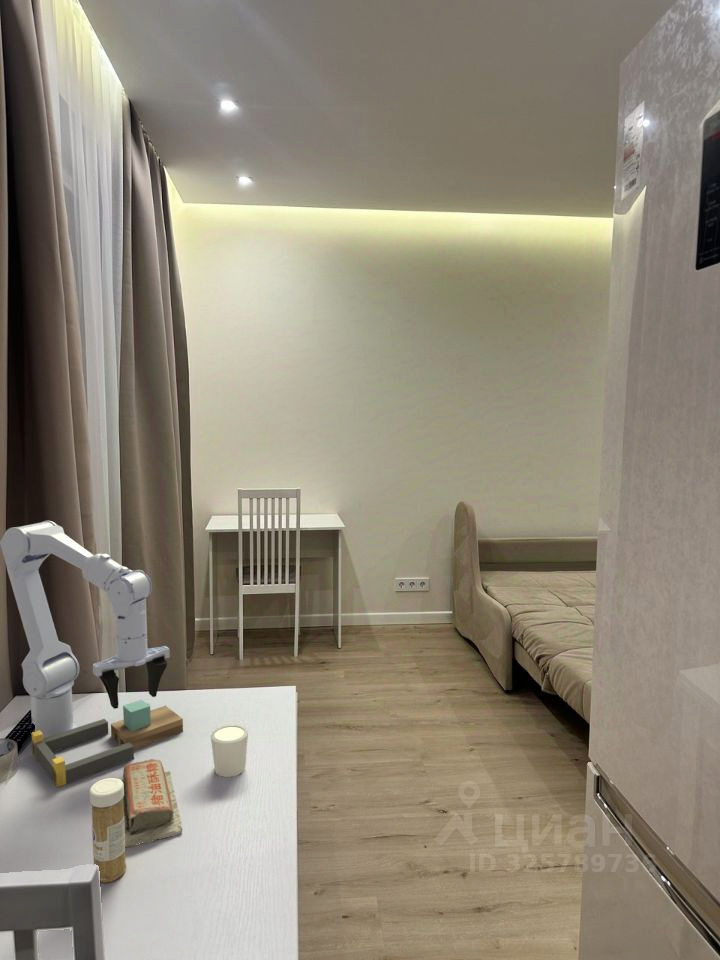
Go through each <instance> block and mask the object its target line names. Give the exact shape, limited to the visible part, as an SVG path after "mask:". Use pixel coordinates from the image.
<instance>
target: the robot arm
mask: <svg viewBox="0 0 720 960" xmlns="http://www.w3.org/2000/svg"><path fill="white" fill-rule="evenodd" d="M0 549H1V552H2V555H3V558H4V562H5V565H6V570H7V574H8V578H9V580H10V584H11V588H12V591H13V595H14V598H15V601H16V605H17V609H18V612H19V616H20V619H21V622H22V626H23V630H24V632H25V636H26V639H27V643H28V647H29V652H28V654H27V655H26V656H25V658H24V659H23V661H22V663H21V668H22V684H23V687H24V689H25V691H26V692H27V693H28V694H29V697H30V712H31V713H30V714H31V724H32V723H33V724H34V725H35V731H38V730H40V731H41V732H42V733H43V738H46V737H49V736H52V735H55V734H58V733H61V732H64V731H68V730H71V729H74V728H77V727H79V725H78V724H77V723H75V722H74V710H73V690H72V687H73V686H74V685H75V680H76V679H77V678H78V677H79V674H80V663H79V661H78V659H77V658H76V656H75V655H74V653H73V652H72V648H71V646H70V645H69V644H67V643H65V642H62V641H59V638H58V634H57V630H56V628H55V623H54V621H53V617H52V613H51V611H50V607H49V602H48V599H47V595H46V592H45V590H44V589H45V588H44V586H43V583H42V579H41V575H40V573H39V572H40V571H39V569H40V567H41V565H42V564H43V562H44V561H45V560H46V559H47V558H48V557H49V556H50V555H51V554H52V555H54V556H56V557H58V558H60V559H62V560H64V561H65V562H67V563H69V564H71V565H73V566H75V567H76V568H78V569H80V570H81V573H82V577H83V579H85V580H86V581H87V582H90V583H91V584H93V585H94V586H96V587H98V589H100V590H102V591H103V592H105V593H106V594H107V595H106V596H107V597H108V600H109V602H110V603H111V606H112V612H113V614H114V615H115V616H114V618H115V620H114V621H115V643H116V645H115V646H116V648H115V649H116V655H113V656H112V657H110V658H109V657H108V658H107V659H104V660H102V661H98V662H95V663H93V664H92V674H93V675H94V676H95V677H98V678H99V679H100V681H101V682H102V684H103V686H104V688H105V691H106V693H107V695H108V700H109V702H110V706H111V707H112V708H113V709H115V710H116V709H119V693H118V692H119V680H120V677H118V676H117V672H115V671H118V670H122V669H126V668H130V667H133V666H134V667H139V666H143V665H145V664H146V668H147V669H146V670H147V677H148V680H147V684H148V685H147V688H148V694H149V695H150V696H151V697H152V698H155V697H157V694H158V689H159V685H160V681H161V679H162V676H163V674H164V673H165V670H166V669H167V666H168V661H167V660H166V659H169V658H170V657H171V654H170V653H171V652H170V651H171V650H170V648H169V647H168V646H166V645H162V646H158V647H151V648H149V647H148V624H147V622H148V621H147V598H148V597H149V596H150V595H151V593H152V590H153V584H152V581H151V580H152V579H151V578H150V576H149V575H148V574H147V573H146V572H145V571H144V570H142V569H134V570H131V569H129V567H127V566H123V565H122V564H120V563H118V562H117V561H115V560H114V559H112V558H111V556H110V555H109V554H108V553H96V554H93V553H91V552H90V551H89V550H87V549H86V548H84V547H83V546H82V545H80V544H79V543H77V542H76V541H75V540H74V539H72V538H70V536H68V535H67V534H65V531H64V528H63V527H62V526H61V525H58V524H57V523H56V522H54V521H51V520H44V521H42V522H37V523H33V524H32V523H31V524H27V525H22V526H16V527H15V526H14V527H9V528H8V529H6V531H5V532H4V534H3V536H2V538H1V540H0Z"/></svg>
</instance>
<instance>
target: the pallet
mask: <svg viewBox="0 0 720 960" xmlns="http://www.w3.org/2000/svg"><path fill="white" fill-rule="evenodd" d="M150 717H151V725H149V726H146V727H143V728H140V729H137V730H134V731H131V730H130V729H129V728H128V727H126V726H125V725H124V719H121V720H118V721H115V722H112V723H110V736H111V737H112V739H113V740H116V741H117V742H116V743H118V746H121V745H123V744H126V743H130V744H132V745H133V746H134V750H135V749H138V748H140V747H143V746H146V745H149V744H151V743H155V742H157V741H158V742H159V741H160V740H163V739H165V738H168V737H171V736H174V735H177V734H179V733H182V732H184V724H183V723H184V721H183V718H182V717H181V716H180V715H179V714H178V713H176V712H175V711H174V710H172V709H171V708H169V707H168V706H167V705H163V706H161V707H157V708H154V709H150Z"/></svg>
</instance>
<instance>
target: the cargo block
mask: <svg viewBox="0 0 720 960" xmlns="http://www.w3.org/2000/svg"><path fill="white" fill-rule="evenodd" d="M122 709H123V715H122V716H123V720H124V725H125V726H126V727H128V728H129V729H130V730H131V731H134V730H137V729H140V728H143V727H146V726H149V725H151V717H150V711H151V706H150V705H149V704H148V703H147V702H146V701H144V700H143V699H139V700H137V701H133V702H129V703H126V704H124V705H122Z"/></svg>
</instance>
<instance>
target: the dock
mask: <svg viewBox="0 0 720 960" xmlns="http://www.w3.org/2000/svg"><path fill="white" fill-rule="evenodd" d="M108 734H109V721H108V720H107V719H105V718H102V719H100V720H99V719H98V720H96V721H92V722H90V723H87V724H84V725H80V726H78V727H77V728H74V729H71V730H68V731H64V732H61V733H58V734H55V735H52V736H49V737H46V738H43V733H42V732H41V731H40V730H38V731H35V732H32V733H31V745H32V747H31V749H32V756H34V757H35V759H36V761H37V762H38V763H39V764H40V766H41V767H42V769H43V770H44V771H45V773H46V774H47V776H48V777H49V778H50V781H52V782H53V784H54V785H55V787H57V788H59V787H62V786H65V785H67V784H70V783H73V782H75V781H78V780H80V779H84V778H86V777H89V776H92V775H94V774H96V773H99V772H103V771H104V770H107V769H110V768H113V767H115V766H118V765H122V764H123V763H126V762H130V761H131V760H134V759H135V755H134V754H135V751H134V750H135V749H134V746H133V745H132V744H130V743H126V744H123V745H118V746H115V747H112V748H110V749H108V750H104V751H101V752H99V753H96V754H92V755H90V756H88V757H87V756H86V757H85V758H81V759H79V760H75V761H73V762H69V763H67V764H66V760H65V759H64V757H63V756H59V757H57V756H56V754H54V753H56V752H58V751H61V750H64V749H67V748H69V747H73V746H75V745H78V744H82V743H84V742H87V741H90V740H93V739H96V738H99V737H102V736H105V735H108Z"/></svg>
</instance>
